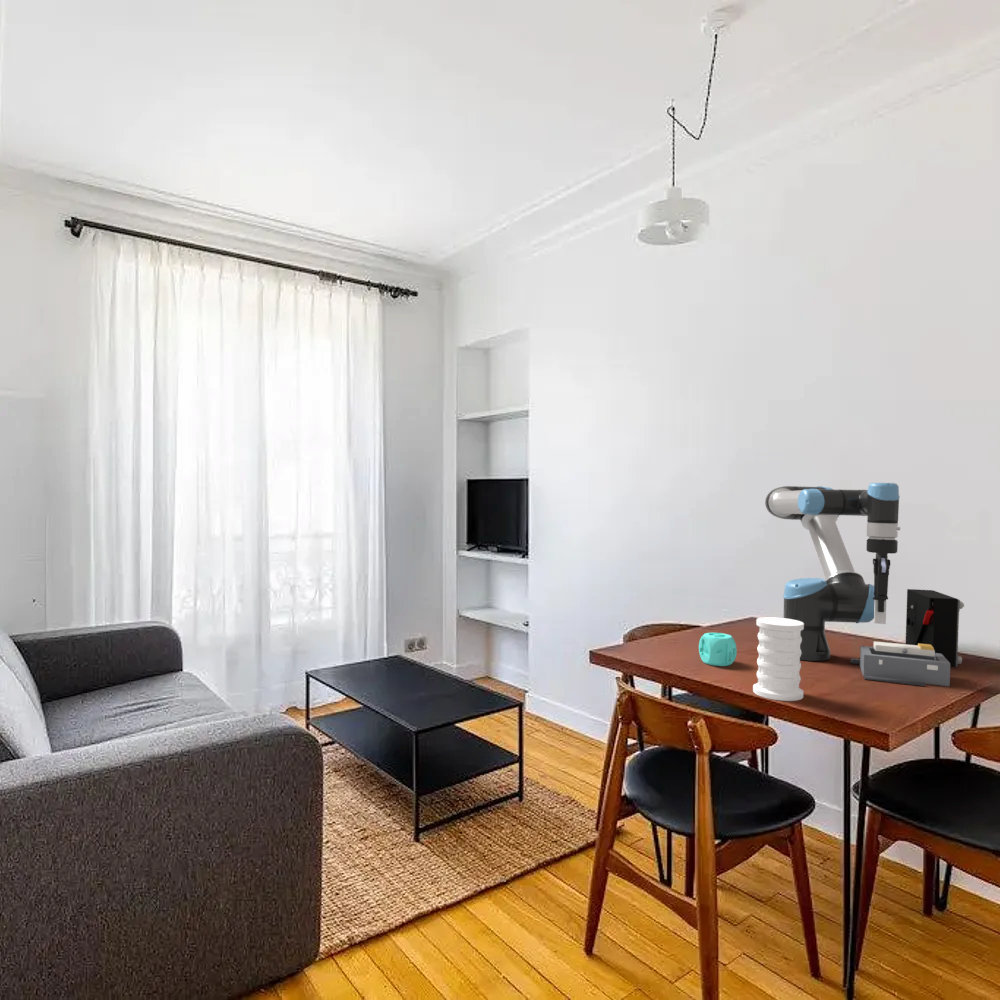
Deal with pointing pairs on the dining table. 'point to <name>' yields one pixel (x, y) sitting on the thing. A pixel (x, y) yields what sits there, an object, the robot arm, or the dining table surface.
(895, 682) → the dark grey thin bar
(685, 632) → the dining table surface
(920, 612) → the electrical component
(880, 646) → the rocker
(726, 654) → the decorative dice
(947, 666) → the breaker housing
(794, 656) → the decorative container
